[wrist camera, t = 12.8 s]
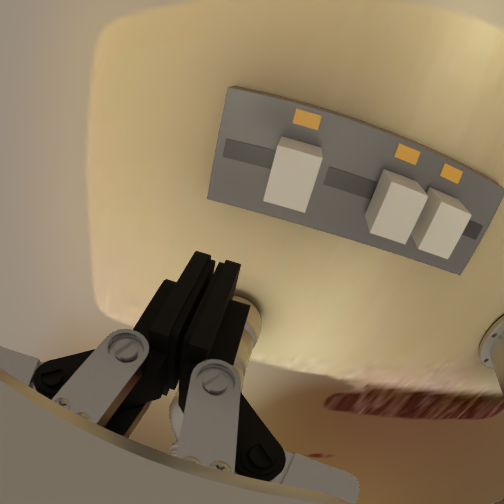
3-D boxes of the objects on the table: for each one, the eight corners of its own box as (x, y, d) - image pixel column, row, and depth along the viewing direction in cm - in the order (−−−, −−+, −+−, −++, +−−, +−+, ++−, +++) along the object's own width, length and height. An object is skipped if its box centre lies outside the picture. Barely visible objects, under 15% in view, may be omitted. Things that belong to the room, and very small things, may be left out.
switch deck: (496, 182, 23) (506, 190, 22) (454, 264, 29) (460, 275, 27) (233, 85, 24) (227, 87, 22) (213, 190, 30) (206, 199, 28)
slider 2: (417, 181, 23) (428, 196, 21) (397, 226, 26) (405, 244, 23) (383, 168, 23) (391, 181, 21) (364, 215, 26) (369, 232, 23)
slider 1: (321, 147, 23) (322, 158, 21) (305, 197, 26) (304, 212, 23) (281, 136, 23) (277, 145, 21) (268, 186, 26) (263, 200, 23)
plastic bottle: (210, 323, 40) (156, 469, 23) (210, 282, 36) (142, 445, 19) (261, 333, 39) (225, 487, 22) (267, 293, 35) (227, 468, 19)
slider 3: (458, 199, 23) (471, 215, 21) (437, 241, 26) (447, 259, 23) (429, 186, 23) (441, 201, 21) (409, 230, 26) (417, 248, 23)
